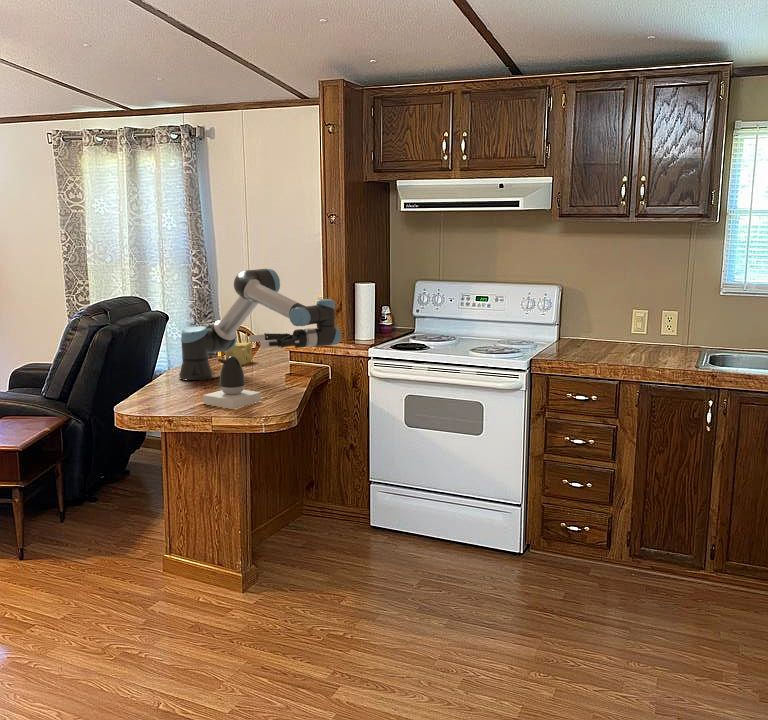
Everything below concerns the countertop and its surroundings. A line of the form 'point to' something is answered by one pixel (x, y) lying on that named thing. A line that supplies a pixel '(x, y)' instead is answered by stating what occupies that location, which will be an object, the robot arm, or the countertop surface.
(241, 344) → the cheese
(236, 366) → the dark brown rounded piece
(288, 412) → the countertop surface
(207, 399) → the riser
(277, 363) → the countertop surface
